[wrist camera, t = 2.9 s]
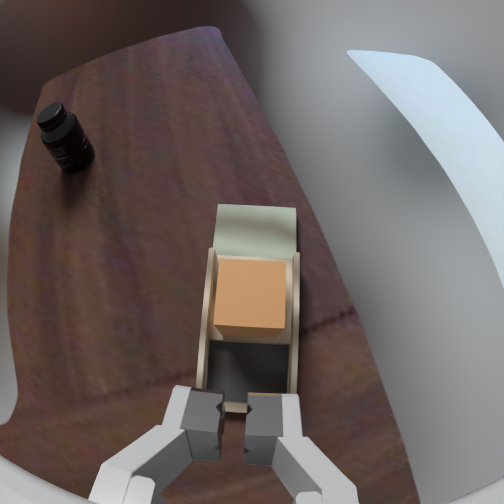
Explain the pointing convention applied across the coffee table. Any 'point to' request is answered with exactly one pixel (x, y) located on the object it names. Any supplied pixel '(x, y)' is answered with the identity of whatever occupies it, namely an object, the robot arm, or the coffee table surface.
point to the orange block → (250, 298)
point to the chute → (246, 348)
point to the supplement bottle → (64, 138)
